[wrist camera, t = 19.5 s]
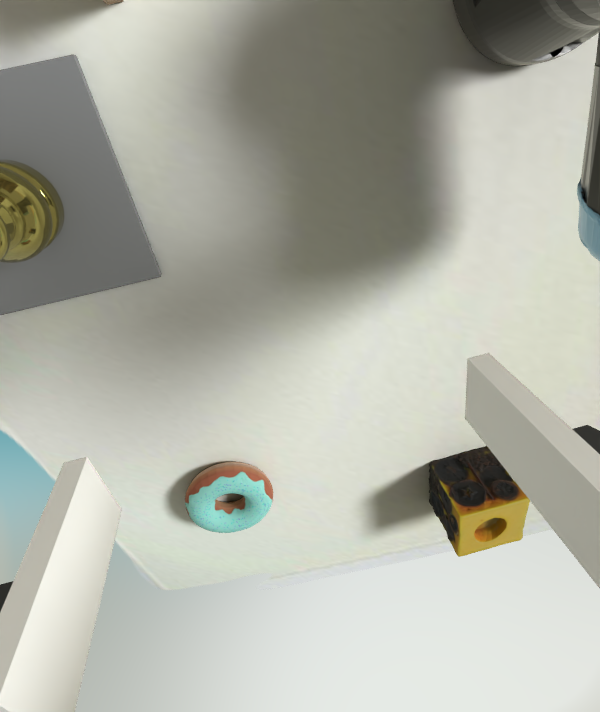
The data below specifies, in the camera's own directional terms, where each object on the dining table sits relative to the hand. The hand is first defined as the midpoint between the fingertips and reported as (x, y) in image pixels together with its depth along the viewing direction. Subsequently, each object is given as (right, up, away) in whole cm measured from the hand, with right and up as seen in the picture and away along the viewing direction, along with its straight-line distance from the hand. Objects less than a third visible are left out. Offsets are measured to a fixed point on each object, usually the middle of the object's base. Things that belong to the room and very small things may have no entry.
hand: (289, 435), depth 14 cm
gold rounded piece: (-24, +16, +21) cm, 36 cm away
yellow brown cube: (+25, -16, +52) cm, 60 cm away
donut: (-10, -16, +45) cm, 48 cm away
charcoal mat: (-24, +16, +22) cm, 36 cm away
